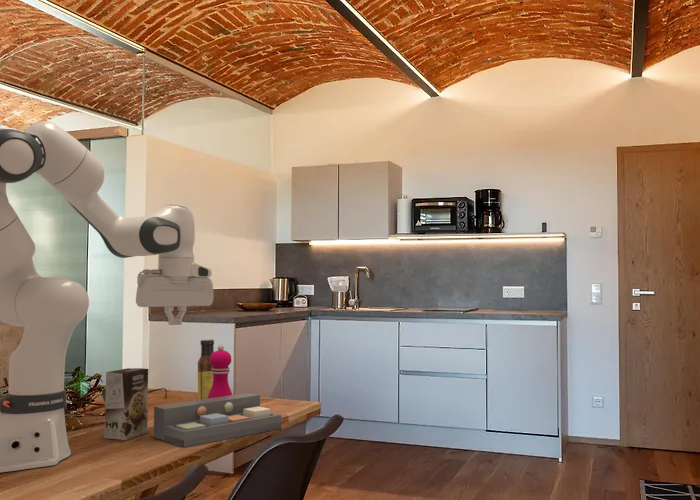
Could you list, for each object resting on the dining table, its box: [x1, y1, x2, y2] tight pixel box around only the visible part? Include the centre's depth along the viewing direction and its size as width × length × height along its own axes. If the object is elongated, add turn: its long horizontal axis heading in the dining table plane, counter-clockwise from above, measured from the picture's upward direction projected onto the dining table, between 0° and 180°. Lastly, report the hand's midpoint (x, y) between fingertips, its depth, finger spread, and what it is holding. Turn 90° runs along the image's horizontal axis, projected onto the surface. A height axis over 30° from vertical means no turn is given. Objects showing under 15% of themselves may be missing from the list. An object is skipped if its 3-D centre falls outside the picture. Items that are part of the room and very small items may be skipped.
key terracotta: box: [228, 415, 250, 423], centre depth 175 cm, size 5×5×2 cm
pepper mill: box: [208, 344, 233, 399], centre depth 196 cm, size 7×7×20 cm
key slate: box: [200, 413, 228, 427], centre depth 170 cm, size 5×5×2 cm
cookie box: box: [104, 367, 149, 441], centre depth 172 cm, size 9×6×16 cm
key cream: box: [243, 406, 271, 419], centre depth 180 cm, size 5×5×2 cm
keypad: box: [153, 392, 282, 448], centre depth 175 cm, size 28×14×8 cm, turn 134°
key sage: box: [176, 422, 206, 430], centre depth 166 cm, size 5×5×2 cm
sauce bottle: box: [197, 338, 215, 400], centre depth 213 cm, size 7×6×20 cm
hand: (175, 324), depth 175 cm, fingers closed
